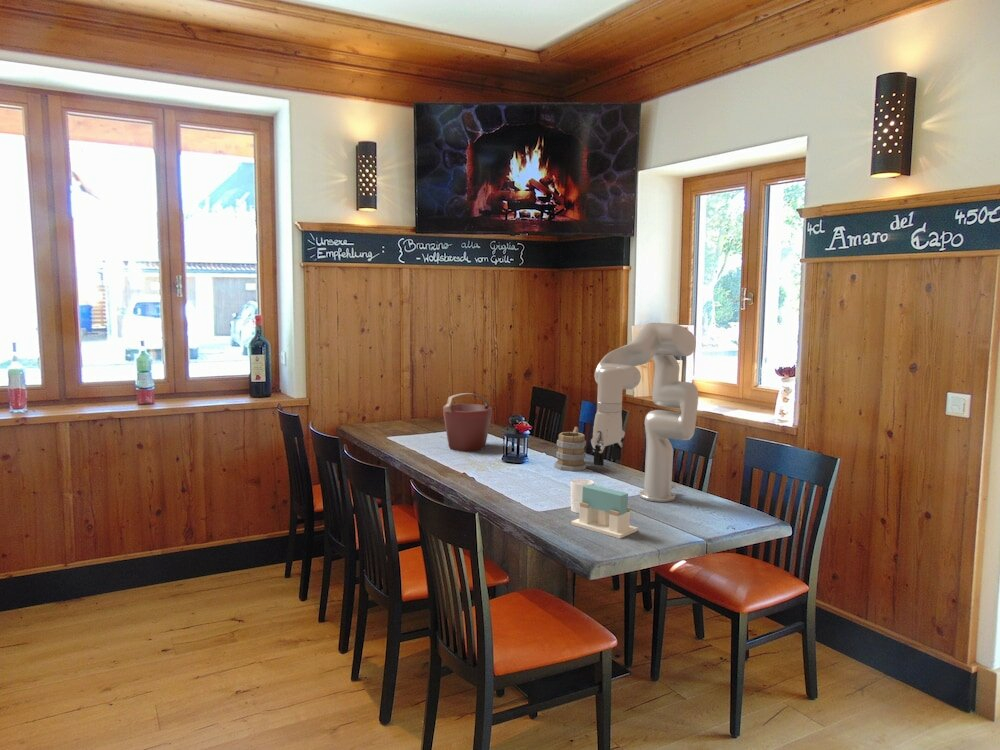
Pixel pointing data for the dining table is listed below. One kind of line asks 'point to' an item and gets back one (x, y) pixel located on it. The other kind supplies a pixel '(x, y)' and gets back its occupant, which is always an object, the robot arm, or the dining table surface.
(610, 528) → the stand
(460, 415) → the bucket
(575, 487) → the white cup
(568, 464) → the tankard
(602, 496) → the teal bar
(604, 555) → the dining table surface
